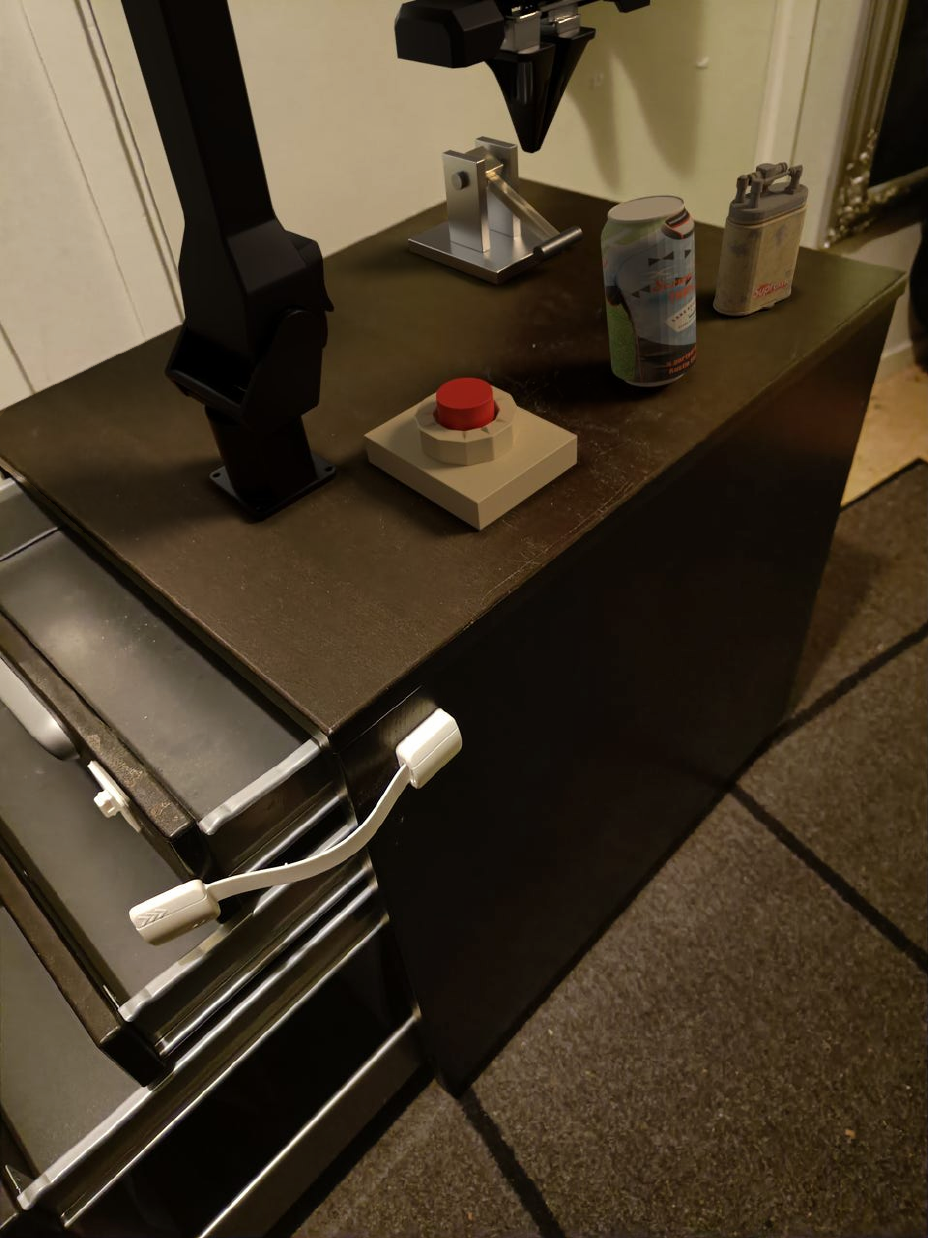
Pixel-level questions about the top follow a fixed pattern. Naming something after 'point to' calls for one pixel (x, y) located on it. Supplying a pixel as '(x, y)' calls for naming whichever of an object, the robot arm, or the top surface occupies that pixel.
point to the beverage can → (650, 289)
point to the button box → (473, 457)
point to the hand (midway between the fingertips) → (531, 151)
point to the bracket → (479, 219)
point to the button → (465, 404)
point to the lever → (525, 210)
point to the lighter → (761, 240)
